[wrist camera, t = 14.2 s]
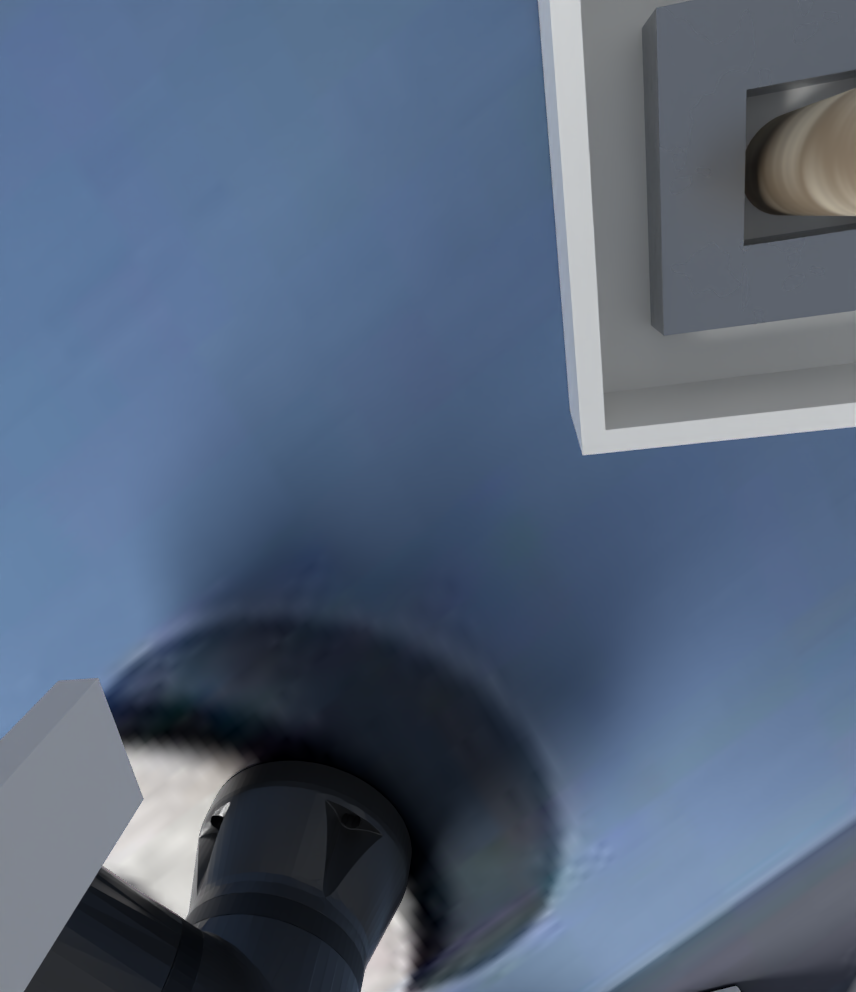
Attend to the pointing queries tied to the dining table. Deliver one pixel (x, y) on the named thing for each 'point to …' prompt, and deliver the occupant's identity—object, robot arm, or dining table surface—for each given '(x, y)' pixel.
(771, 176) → the peg
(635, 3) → the box
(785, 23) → the bore plate
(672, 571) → the dining table surface
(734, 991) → the milk carton
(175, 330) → the dining table surface
